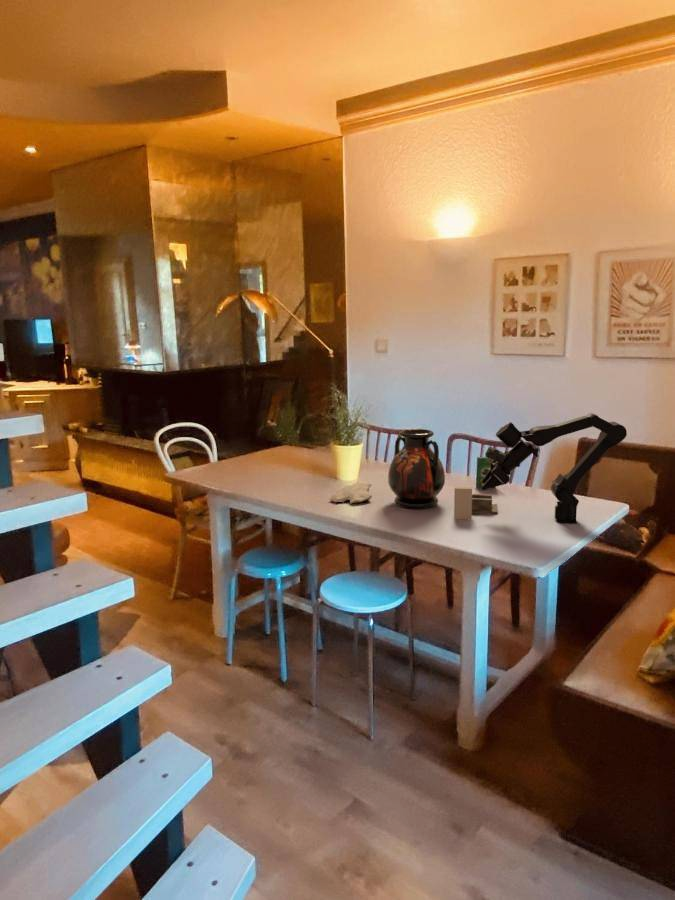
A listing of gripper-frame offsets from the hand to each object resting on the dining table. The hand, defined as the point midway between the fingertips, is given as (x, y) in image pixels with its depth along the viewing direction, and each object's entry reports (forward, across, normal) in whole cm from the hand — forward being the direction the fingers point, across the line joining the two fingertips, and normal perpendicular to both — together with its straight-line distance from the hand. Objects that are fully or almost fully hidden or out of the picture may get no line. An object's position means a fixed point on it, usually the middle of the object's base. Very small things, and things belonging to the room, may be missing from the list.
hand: (482, 485), depth 232 cm
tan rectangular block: (+13, 0, +4) cm, 13 cm away
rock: (+43, -19, -25) cm, 53 cm away
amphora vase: (+26, -15, -9) cm, 31 cm away
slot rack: (+9, -11, +7) cm, 16 cm away
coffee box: (+7, -42, +10) cm, 44 cm away
